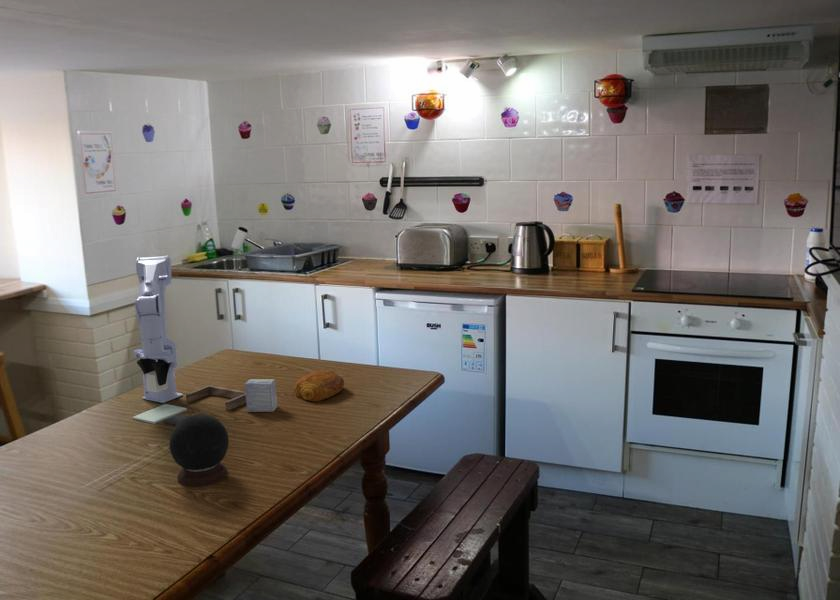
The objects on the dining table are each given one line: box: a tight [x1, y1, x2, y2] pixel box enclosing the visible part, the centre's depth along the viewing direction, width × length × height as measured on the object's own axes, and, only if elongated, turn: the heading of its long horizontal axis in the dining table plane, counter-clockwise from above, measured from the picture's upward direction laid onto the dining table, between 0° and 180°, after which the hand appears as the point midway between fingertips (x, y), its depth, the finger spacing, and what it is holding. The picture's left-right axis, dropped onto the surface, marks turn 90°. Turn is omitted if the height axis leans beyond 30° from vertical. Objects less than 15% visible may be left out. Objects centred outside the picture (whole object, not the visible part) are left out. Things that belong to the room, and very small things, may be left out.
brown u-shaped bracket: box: [185, 384, 246, 412], centre depth 227 cm, size 17×10×2 cm, turn 60°
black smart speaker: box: [169, 413, 230, 488], centre depth 174 cm, size 13×13×15 cm
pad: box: [131, 403, 188, 425], centre depth 217 cm, size 9×12×1 cm
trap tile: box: [163, 413, 189, 426], centre depth 212 cm, size 6×6×1 cm
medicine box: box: [244, 378, 278, 413], centre depth 218 cm, size 8×4×9 cm, turn 84°
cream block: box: [145, 371, 168, 392], centre depth 215 cm, size 4×4×5 cm
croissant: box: [294, 370, 345, 402], centre depth 231 cm, size 14×16×8 cm
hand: (156, 383), depth 215 cm, fingers closed on cream block, 4 cm apart
